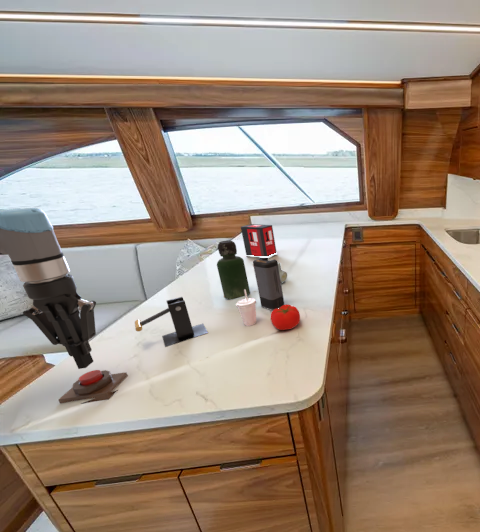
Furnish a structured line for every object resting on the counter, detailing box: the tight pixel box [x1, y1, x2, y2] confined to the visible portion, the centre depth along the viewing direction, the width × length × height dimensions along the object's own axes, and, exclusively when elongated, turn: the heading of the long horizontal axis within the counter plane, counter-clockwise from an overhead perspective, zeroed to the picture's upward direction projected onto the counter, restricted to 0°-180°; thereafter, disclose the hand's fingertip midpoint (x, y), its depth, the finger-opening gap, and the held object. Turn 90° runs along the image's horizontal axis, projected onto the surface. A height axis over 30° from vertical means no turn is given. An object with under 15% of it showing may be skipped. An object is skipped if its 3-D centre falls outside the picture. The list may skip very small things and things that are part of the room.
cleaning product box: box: [240, 223, 277, 256], centre depth 191 cm, size 16×9×20 cm, turn 72°
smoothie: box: [235, 289, 257, 327], centre depth 106 cm, size 6×6×14 cm
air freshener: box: [277, 261, 288, 284], centre depth 147 cm, size 11×8×10 cm
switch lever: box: [134, 300, 180, 332], centre depth 95 cm, size 13×6×2 cm, turn 133°
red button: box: [78, 369, 103, 386], centre depth 76 cm, size 4×4×2 cm
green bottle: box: [216, 240, 251, 300], centre depth 131 cm, size 10×10×25 cm
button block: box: [57, 369, 129, 405], centre depth 77 cm, size 10×8×4 cm
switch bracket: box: [161, 296, 209, 348], centre depth 100 cm, size 12×9×14 cm
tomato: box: [270, 303, 301, 331], centre depth 107 cm, size 10×11×6 cm
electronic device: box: [252, 258, 285, 311], centre depth 120 cm, size 9×6×20 cm, turn 59°
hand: (86, 365), depth 75 cm, fingers closed
